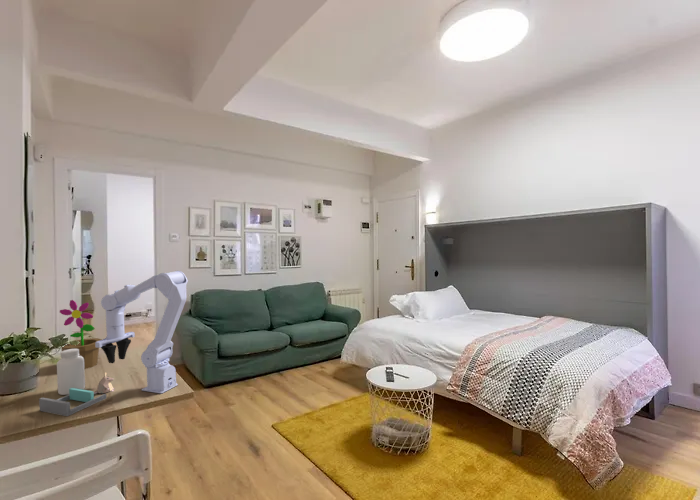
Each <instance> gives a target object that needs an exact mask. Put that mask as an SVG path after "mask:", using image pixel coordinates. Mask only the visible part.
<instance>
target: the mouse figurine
mask: <svg viewBox="0 0 700 500" xmlns="http://www.w3.org/2000/svg"><path fill="white" fill-rule="evenodd" d="M107 374H108V373H107V372H105V373H104V374H103V375H104V376H103V377H102V378H101V379H100V381H98V385H97V389H96V391H94V395H95V394H101V395H104V394H108V393H110V392H111V393H112V392H115V387H113V384H112V381H114V378H113V377H110V376H107Z"/></svg>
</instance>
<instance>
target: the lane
mask: <svg viewBox="0 0 700 500" xmlns="http://www.w3.org/2000/svg"><path fill="white" fill-rule="evenodd" d="M106 399H107V393H104V394H101V395H99V396H97V397H94V399H92V400H90V401H88V402H82V403H81V404H79V405H77V406H74V407H72V408H71V402H69V400H71V399H70V396H69V395H63V396H62V397H60V398H58V399H54V398H49V397H48V398H47V397H40V398H38V403H39V404H38V405H39V411H40V412H45V413H49V414H54V415H59V416H64V417H69V416H71V415H73V414H75V413H77V412H80V411H82V410H83V409H86V408H88V407H91V406H93V405H94V404H97V403H99V402H101V401H104V400H106Z"/></svg>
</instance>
